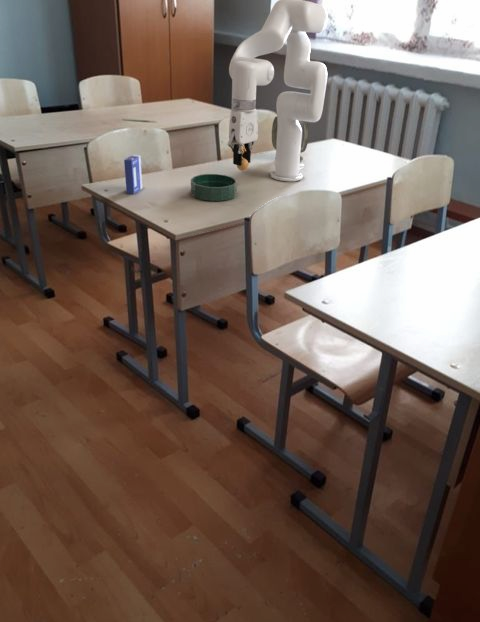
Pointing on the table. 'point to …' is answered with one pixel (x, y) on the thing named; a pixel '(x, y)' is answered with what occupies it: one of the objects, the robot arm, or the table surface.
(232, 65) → the robot arm
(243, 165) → the figurine
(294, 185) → the table surface
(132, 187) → the walkman
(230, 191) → the bowl
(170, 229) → the table surface
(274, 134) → the tabletop clock
